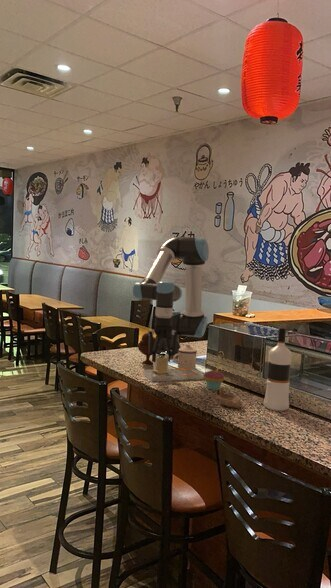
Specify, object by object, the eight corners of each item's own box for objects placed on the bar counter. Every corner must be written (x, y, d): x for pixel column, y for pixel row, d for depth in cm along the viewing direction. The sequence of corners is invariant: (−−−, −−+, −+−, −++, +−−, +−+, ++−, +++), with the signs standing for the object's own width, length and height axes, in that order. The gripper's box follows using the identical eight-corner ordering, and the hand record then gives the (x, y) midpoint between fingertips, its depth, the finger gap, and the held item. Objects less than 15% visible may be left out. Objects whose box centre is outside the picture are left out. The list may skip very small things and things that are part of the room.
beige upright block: (153, 376, 208) (155, 355, 207) (163, 375, 209) (164, 355, 208) (156, 378, 203) (158, 357, 203) (166, 378, 205) (167, 357, 204)
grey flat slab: (143, 373, 210) (143, 369, 210) (194, 372, 218) (194, 367, 218) (151, 381, 199) (151, 376, 198) (204, 379, 207) (205, 374, 207)
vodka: (262, 409, 170) (268, 328, 168) (264, 402, 179) (270, 325, 177) (288, 413, 167) (295, 331, 165) (289, 405, 176) (296, 327, 174)
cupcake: (219, 385, 199) (221, 357, 198) (226, 390, 191) (228, 362, 190) (200, 385, 197) (202, 357, 196) (206, 391, 189) (208, 362, 188)
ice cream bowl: (135, 365, 225) (136, 334, 224) (139, 360, 236) (140, 331, 235) (156, 367, 224) (158, 336, 223) (159, 361, 235) (161, 332, 234)
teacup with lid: (189, 365, 232) (191, 342, 231) (199, 369, 224) (201, 346, 223) (168, 366, 226) (170, 343, 225) (177, 371, 218) (179, 347, 217)
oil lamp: (246, 409, 169) (248, 396, 169) (230, 411, 166) (231, 398, 165) (225, 398, 181) (226, 386, 180) (209, 400, 177) (210, 387, 177)
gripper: (147, 317, 198) (144, 371, 199) (185, 318, 203) (181, 370, 205) (142, 315, 205) (139, 367, 206) (179, 315, 210) (175, 366, 212)
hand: (160, 368), depth 206 cm, fingers closed on beige upright block, 4 cm apart
